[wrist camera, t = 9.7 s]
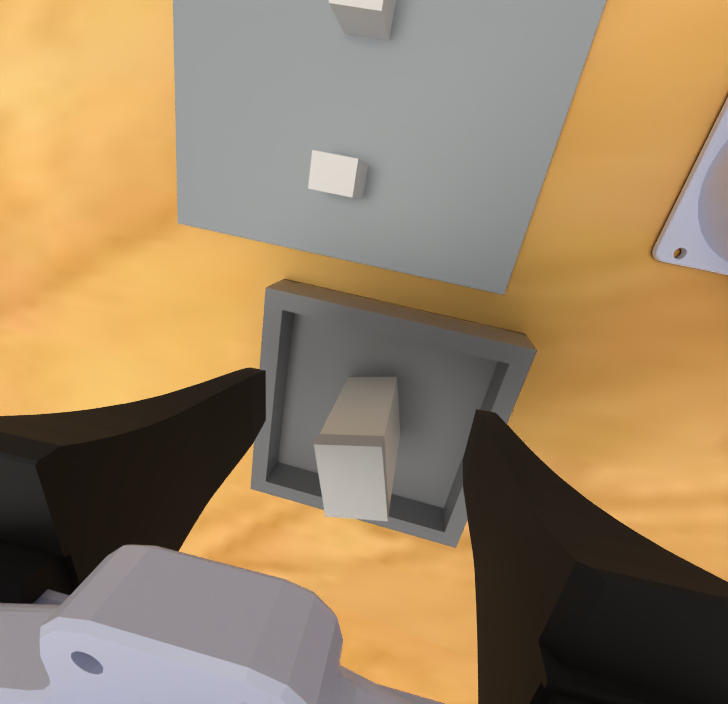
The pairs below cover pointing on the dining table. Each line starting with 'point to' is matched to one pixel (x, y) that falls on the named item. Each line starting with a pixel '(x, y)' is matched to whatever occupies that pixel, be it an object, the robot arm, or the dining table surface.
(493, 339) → the parts tray
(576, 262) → the dining table surface
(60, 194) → the dining table surface
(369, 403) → the block
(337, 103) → the panel
